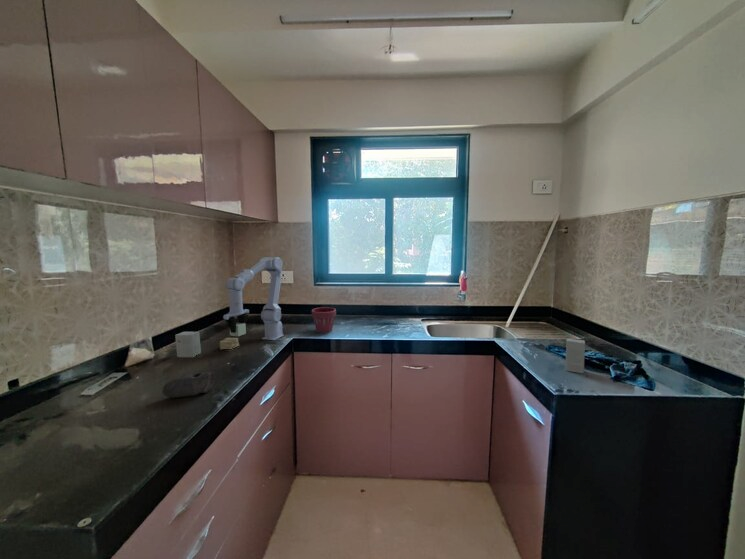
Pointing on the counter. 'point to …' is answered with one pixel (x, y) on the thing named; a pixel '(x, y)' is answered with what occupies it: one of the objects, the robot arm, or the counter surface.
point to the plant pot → (324, 318)
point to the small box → (188, 344)
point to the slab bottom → (229, 346)
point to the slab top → (229, 342)
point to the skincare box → (575, 355)
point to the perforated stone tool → (189, 385)
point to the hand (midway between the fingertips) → (237, 330)
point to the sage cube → (239, 329)
